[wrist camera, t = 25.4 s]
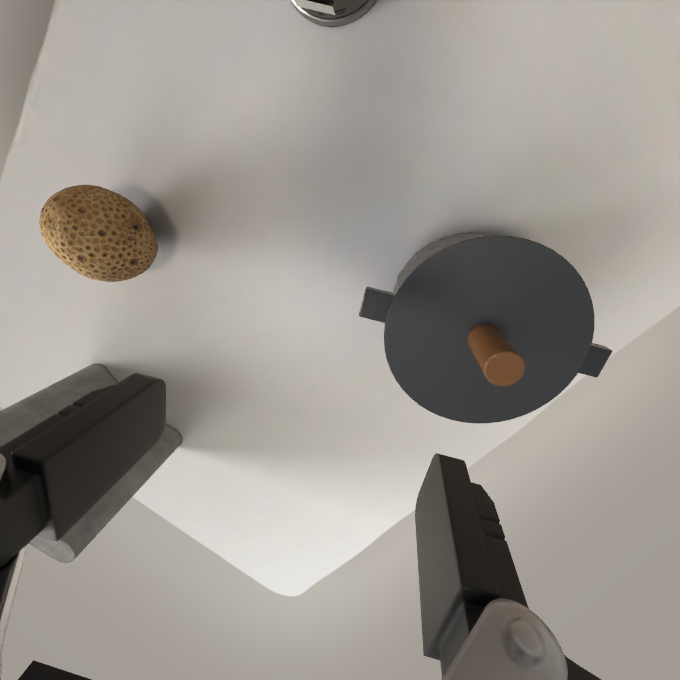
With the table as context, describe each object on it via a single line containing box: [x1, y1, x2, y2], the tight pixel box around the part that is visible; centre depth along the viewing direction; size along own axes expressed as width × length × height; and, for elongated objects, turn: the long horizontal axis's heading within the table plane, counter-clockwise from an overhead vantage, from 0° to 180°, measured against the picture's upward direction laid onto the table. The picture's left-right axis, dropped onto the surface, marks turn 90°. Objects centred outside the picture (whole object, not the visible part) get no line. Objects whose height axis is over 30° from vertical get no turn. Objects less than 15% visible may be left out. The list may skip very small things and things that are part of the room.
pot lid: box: [384, 235, 594, 423], centre depth 24 cm, size 15×15×7 cm
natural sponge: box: [39, 185, 158, 282], centre depth 34 cm, size 9×9×10 cm
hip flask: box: [0, 364, 182, 563], centre depth 38 cm, size 16×4×20 cm, turn 44°
